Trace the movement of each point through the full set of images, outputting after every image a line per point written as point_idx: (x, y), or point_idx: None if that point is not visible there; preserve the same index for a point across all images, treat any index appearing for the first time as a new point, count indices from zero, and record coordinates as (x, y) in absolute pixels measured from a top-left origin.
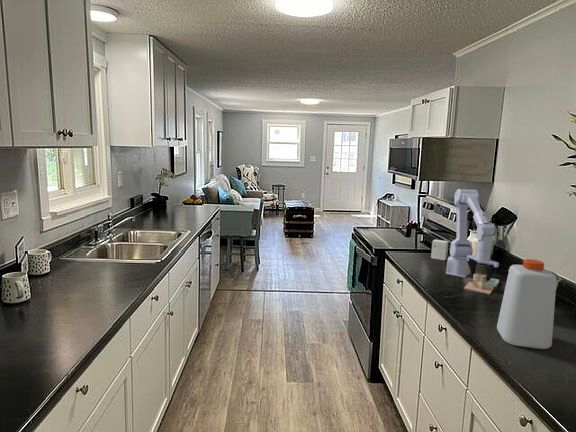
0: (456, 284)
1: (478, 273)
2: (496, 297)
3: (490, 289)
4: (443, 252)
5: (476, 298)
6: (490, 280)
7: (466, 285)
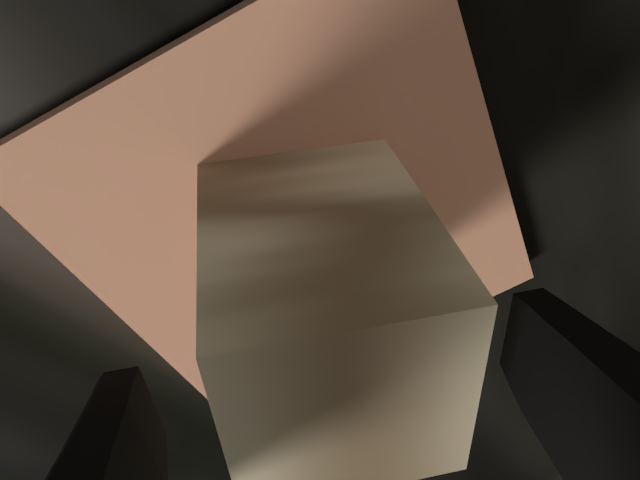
0: (31, 389)
1: (236, 409)
2: (619, 259)
3: (464, 137)
4: None
5: (484, 442)
6: None
7: (160, 347)
